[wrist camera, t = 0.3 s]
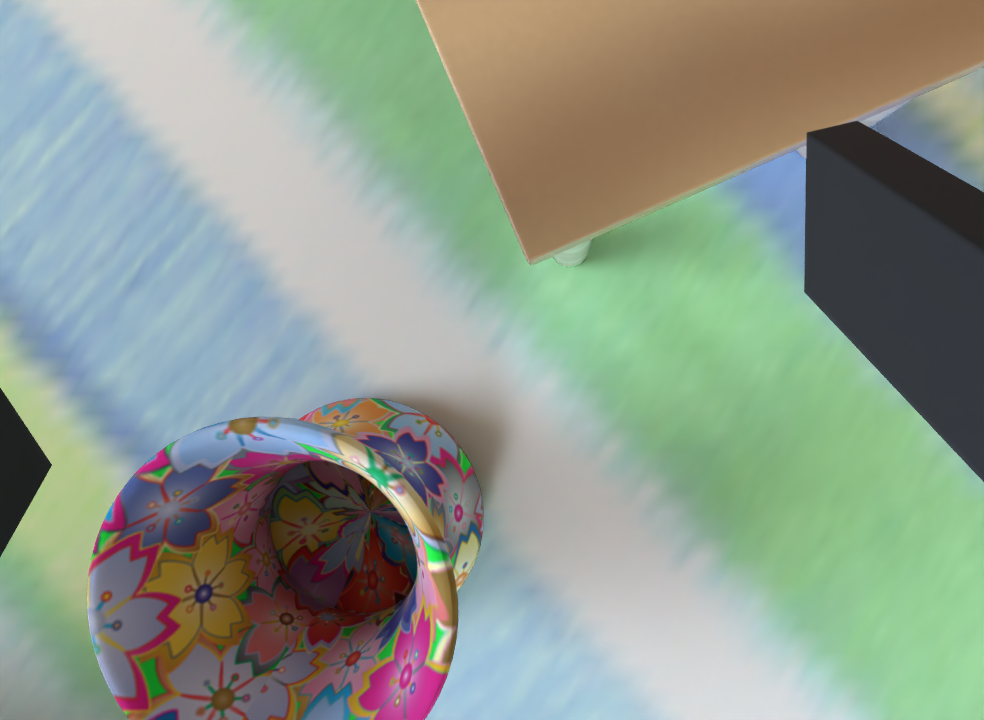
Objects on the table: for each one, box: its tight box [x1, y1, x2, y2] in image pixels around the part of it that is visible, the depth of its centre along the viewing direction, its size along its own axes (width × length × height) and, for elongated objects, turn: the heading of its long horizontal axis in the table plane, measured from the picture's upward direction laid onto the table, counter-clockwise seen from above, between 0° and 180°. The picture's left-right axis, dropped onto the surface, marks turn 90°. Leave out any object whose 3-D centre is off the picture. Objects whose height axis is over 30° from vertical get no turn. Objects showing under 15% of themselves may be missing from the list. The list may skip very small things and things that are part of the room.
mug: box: [87, 398, 483, 720], centre depth 25 cm, size 12×9×11 cm
